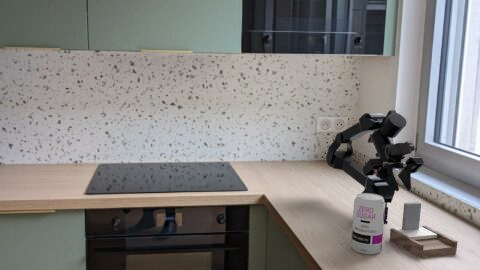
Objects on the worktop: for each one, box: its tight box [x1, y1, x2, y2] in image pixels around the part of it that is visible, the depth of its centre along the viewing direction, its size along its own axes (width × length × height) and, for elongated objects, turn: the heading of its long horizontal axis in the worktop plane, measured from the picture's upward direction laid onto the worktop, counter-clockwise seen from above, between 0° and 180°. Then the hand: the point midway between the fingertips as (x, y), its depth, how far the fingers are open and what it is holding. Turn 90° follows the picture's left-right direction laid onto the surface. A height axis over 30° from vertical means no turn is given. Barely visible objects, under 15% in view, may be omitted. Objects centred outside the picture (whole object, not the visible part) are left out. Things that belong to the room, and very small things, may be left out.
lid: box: [396, 201, 437, 240], centre depth 151 cm, size 6×9×9 cm
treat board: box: [389, 225, 458, 259], centre depth 149 cm, size 14×12×4 cm
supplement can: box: [350, 192, 385, 256], centre depth 144 cm, size 8×8×15 cm
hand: (403, 190), depth 157 cm, fingers open, 4 cm apart
